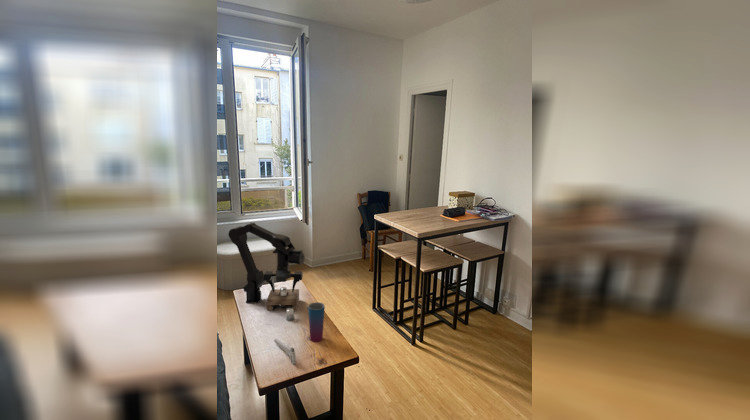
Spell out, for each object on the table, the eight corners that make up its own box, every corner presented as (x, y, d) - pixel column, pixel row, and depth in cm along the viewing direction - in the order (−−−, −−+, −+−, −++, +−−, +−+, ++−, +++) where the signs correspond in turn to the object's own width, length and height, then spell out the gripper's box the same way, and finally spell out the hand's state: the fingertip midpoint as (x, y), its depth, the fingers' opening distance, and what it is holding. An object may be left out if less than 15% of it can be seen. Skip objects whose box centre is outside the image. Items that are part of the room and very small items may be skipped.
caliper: (295, 365, 138) (295, 349, 137) (293, 366, 138) (293, 350, 136) (275, 340, 154) (275, 326, 153) (273, 341, 154) (273, 327, 153)
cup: (306, 336, 158) (306, 303, 155) (322, 333, 160) (322, 301, 158) (310, 344, 151) (310, 310, 149) (326, 341, 154) (326, 308, 151)
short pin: (286, 321, 170) (286, 311, 169) (287, 317, 174) (286, 307, 173) (293, 320, 171) (293, 310, 170) (293, 317, 174) (293, 307, 173)
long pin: (279, 306, 184) (279, 289, 183) (280, 303, 188) (280, 287, 186) (286, 306, 185) (286, 289, 183) (287, 303, 188) (287, 287, 186)
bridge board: (267, 310, 180) (266, 299, 179) (271, 300, 191) (271, 289, 190) (296, 310, 181) (296, 298, 180) (298, 300, 193) (298, 289, 192)
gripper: (260, 267, 173) (261, 299, 176) (300, 267, 175) (300, 298, 178) (264, 260, 184) (265, 289, 187) (302, 260, 186) (303, 289, 189)
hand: (283, 292), depth 185 cm, fingers open, 9 cm apart
